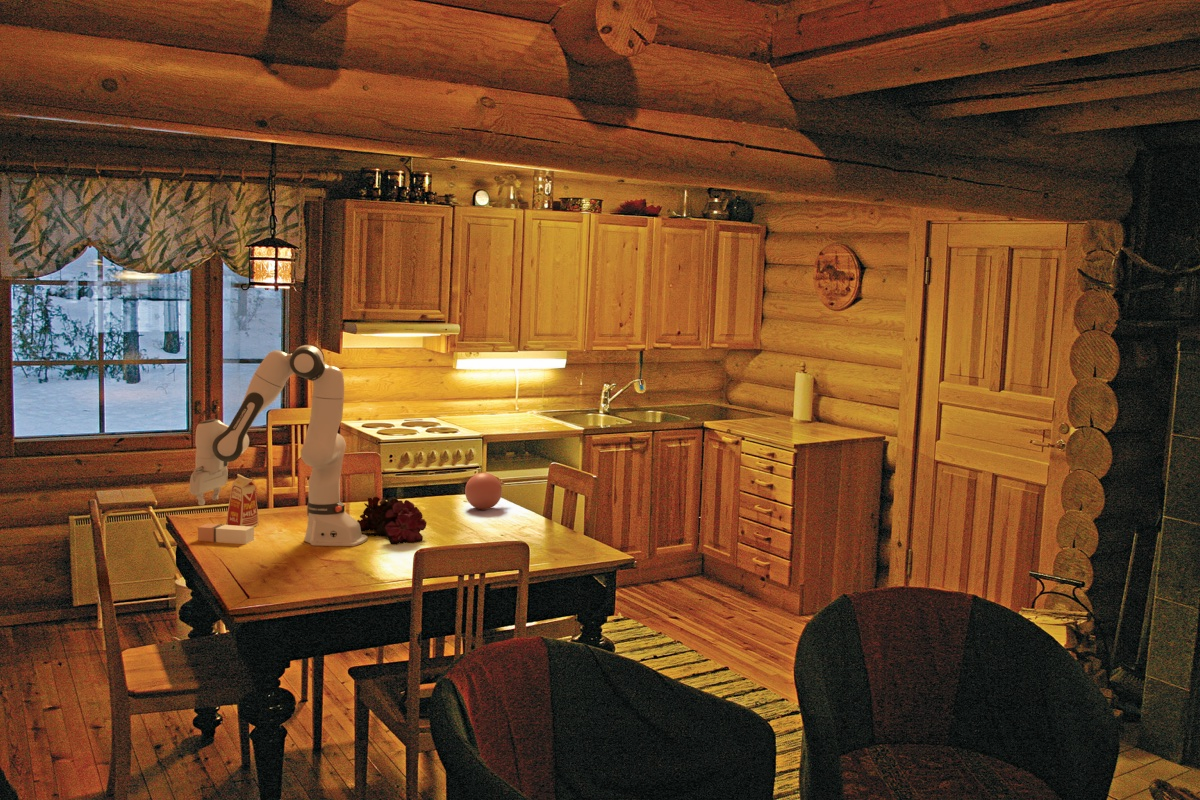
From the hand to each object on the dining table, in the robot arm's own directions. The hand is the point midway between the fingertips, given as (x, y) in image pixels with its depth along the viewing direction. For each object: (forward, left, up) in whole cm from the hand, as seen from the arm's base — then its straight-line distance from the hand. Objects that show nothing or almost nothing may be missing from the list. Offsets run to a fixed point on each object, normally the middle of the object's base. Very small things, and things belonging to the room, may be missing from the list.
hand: (208, 502), depth 383 cm
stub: (0, 0, -14) cm, 14 cm away
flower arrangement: (-61, -25, -15) cm, 67 cm away
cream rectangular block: (-10, 0, -14) cm, 17 cm away
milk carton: (-1, -24, -14) cm, 28 cm away
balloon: (-82, -80, -14) cm, 115 cm away
